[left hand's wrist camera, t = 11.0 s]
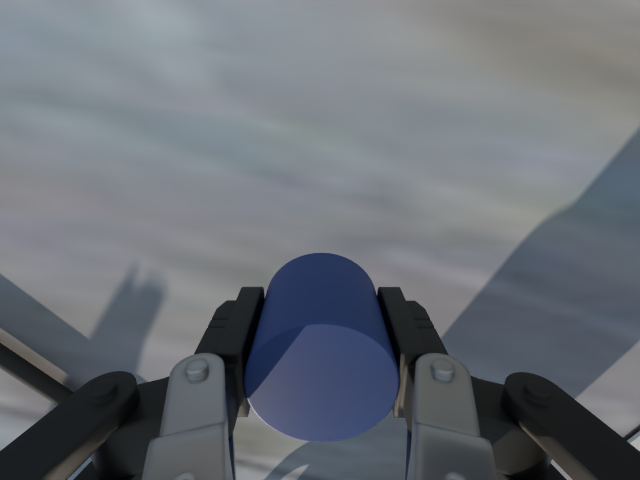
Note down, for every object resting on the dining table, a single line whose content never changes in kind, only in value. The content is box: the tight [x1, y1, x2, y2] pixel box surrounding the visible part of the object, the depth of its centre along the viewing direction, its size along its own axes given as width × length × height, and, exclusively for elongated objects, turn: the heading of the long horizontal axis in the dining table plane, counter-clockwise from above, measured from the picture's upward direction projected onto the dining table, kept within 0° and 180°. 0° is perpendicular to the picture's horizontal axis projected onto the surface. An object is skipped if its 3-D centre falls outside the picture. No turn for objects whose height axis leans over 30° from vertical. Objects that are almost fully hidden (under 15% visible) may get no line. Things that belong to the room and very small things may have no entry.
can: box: [244, 253, 400, 442], centre depth 11 cm, size 4×4×4 cm
